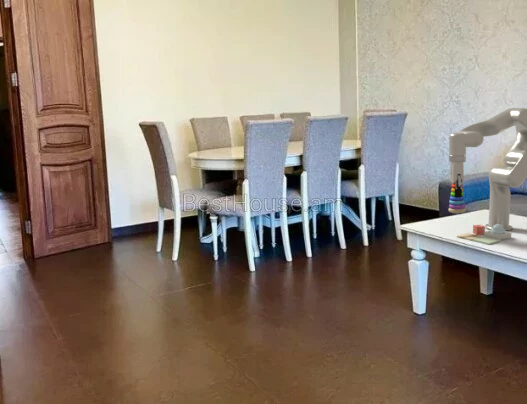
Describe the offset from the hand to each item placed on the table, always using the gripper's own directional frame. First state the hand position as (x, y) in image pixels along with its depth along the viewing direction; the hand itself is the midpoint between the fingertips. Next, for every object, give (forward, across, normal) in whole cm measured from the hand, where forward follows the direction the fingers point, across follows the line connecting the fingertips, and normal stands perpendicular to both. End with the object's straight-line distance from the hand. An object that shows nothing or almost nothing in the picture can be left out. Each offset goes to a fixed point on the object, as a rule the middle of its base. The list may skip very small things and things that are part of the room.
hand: (456, 195), depth 263 cm
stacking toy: (+8, 0, 0) cm, 8 cm away
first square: (+19, +7, +5) cm, 21 cm away
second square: (+19, +14, +11) cm, 26 cm away
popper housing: (+20, +6, +18) cm, 27 cm away
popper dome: (+18, +6, +18) cm, 26 cm away
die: (+20, -1, +11) cm, 22 cm away
